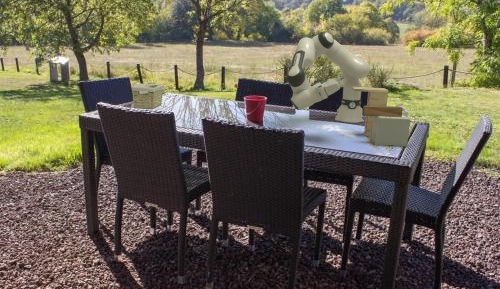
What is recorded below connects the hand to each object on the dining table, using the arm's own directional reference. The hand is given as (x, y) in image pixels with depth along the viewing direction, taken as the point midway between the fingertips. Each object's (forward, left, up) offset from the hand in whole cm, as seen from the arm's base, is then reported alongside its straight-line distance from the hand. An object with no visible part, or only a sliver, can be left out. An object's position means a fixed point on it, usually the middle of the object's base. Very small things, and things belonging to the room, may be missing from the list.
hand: (345, 78), depth 239 cm
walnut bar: (+2, +20, -18) cm, 27 cm away
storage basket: (-73, -123, -33) cm, 147 cm away
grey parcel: (+2, +25, -32) cm, 41 cm away
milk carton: (-11, +32, -32) cm, 47 cm away
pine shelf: (-15, +17, -32) cm, 39 cm away
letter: (+2, +25, -18) cm, 31 cm away
